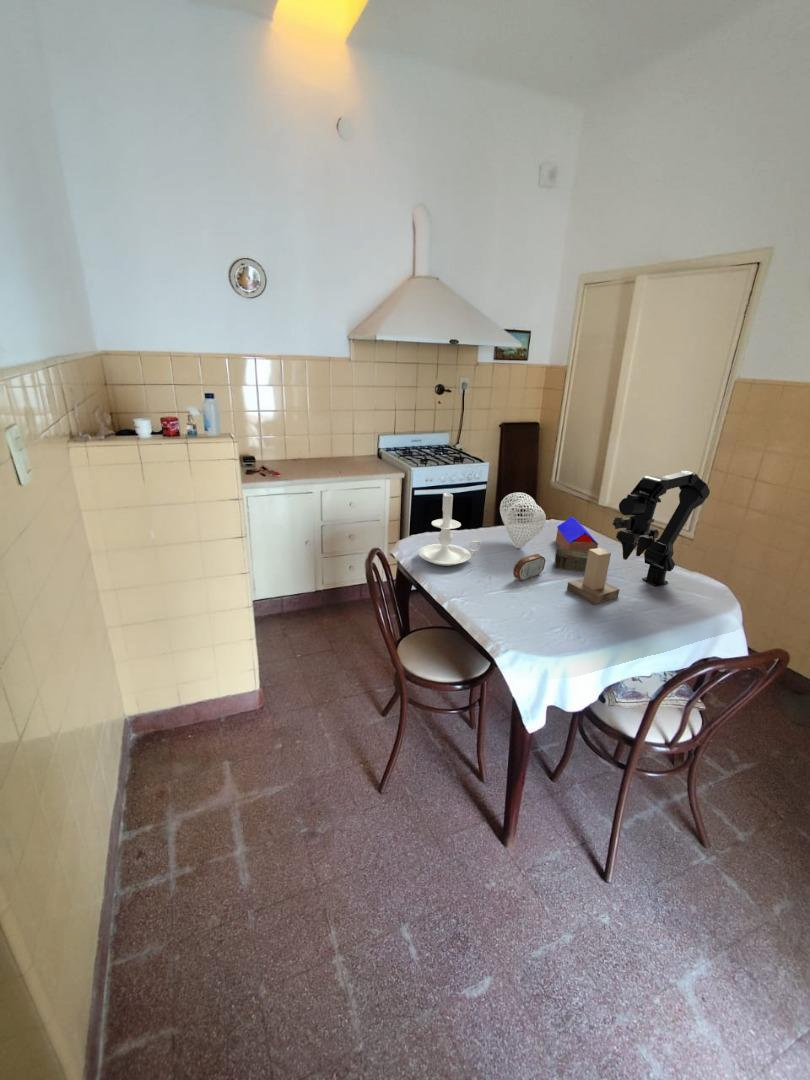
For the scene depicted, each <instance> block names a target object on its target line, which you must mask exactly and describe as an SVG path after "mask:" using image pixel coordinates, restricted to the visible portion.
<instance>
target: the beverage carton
mask: <svg viewBox="0 0 810 1080" xmlns="http://www.w3.org/2000/svg"><path fill="white" fill-rule="evenodd" d="M587 557H588V551H580V550H572V549H563V548H560V547H557V548H556V550H555V556H554V566H555V569H558V570H564V571H565V570H566V571H575V572H582V573H585V569H586V563H587Z"/></svg>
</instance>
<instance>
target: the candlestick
mask: <svg viewBox="0 0 810 1080" xmlns="http://www.w3.org/2000/svg"><path fill="white" fill-rule="evenodd" d="M453 500H454V495H453V494H452V493H450V492H443V494H442V510H441V511H442V518H438V519H435V520H432V521H431V525H432V526H433V527H435V528H439V529H441V530H440V532H439V533H438V536H437V540H438V543H432V544H428V545H425V546H422V547H421V548H419V550H418V552H417V553H418V556H419V558H421V559H423V560H424V561H427V562H429V563H431V564H434V565H437V566H447V567H448V566H449V567H450V566H455V565H459V564H461V563H462V564H463V563H466V562H467V561H468V560H469V559H470V558H471V557H475V555H476V553H477V552H478V551H479V550H480V548H481V545H480V543H482V542H483V541H482V540H473V541H470V542H469V543H468V549H466V548H464V547H463V546H460V545H456V544H451V543H452V542H453V539H454V536H453V534H452V531H451V530H452V529H457V528H460V527H461V526H462V524H461V522H459V521H457V520H455V519H453V518H452V517H453V502H454V501H453ZM473 544H476V545H477V548H475V549H472V548H471V546H472V545H473ZM471 553H472V554H471Z"/></svg>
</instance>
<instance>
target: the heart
mask: <svg viewBox="0 0 810 1080" xmlns="http://www.w3.org/2000/svg"><path fill="white" fill-rule="evenodd" d="M521 510H522V511H521ZM524 510H525V511H524ZM499 513H500V514H499V515H500V516H501V521H502V522H503V525H504V527H505V530H506V532H507V534H508V537H509V538H510V540H511V542H512V544H513V546H514V547H515V549H522V548H523V547H525V546H526V545H527V544H528V543H529V542H530V541H531V540H533V539H534V538H536V536H537V535H539V534H540V533H541V531H542V530H543V529H544V527H545V524H546V519H547V517H546V513H545V511H544V510H543V509H542V507H541V506H539V505H538V504H537V503H536V500H535V499H534V498H533V497H532V496H531V495H529V494H527V493H526V492H513V493H509V494H507V495H505V496H504V497H503V499H502V500H501V502H500V506H499ZM518 514H519V516H518ZM521 515H522V516H521ZM518 546H519V547H518Z"/></svg>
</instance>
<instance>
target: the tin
mask: <svg viewBox="0 0 810 1080" xmlns="http://www.w3.org/2000/svg"><path fill="white" fill-rule="evenodd" d="M545 565H546V558H545V557H544V556H543V555H541V554H539V553H535V554H532V555H528V556H524V557H522V558H520V559H519V560H517V562H516V564H515V565H514V568H513V570H512V571H513V572H512V573H513V576H514V578H515V579H518V580H520V581H526V580H529V579H532V578H534V577H537V576H539V575H540V574H541V573H542V572H543V571H544V568H545Z"/></svg>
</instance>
